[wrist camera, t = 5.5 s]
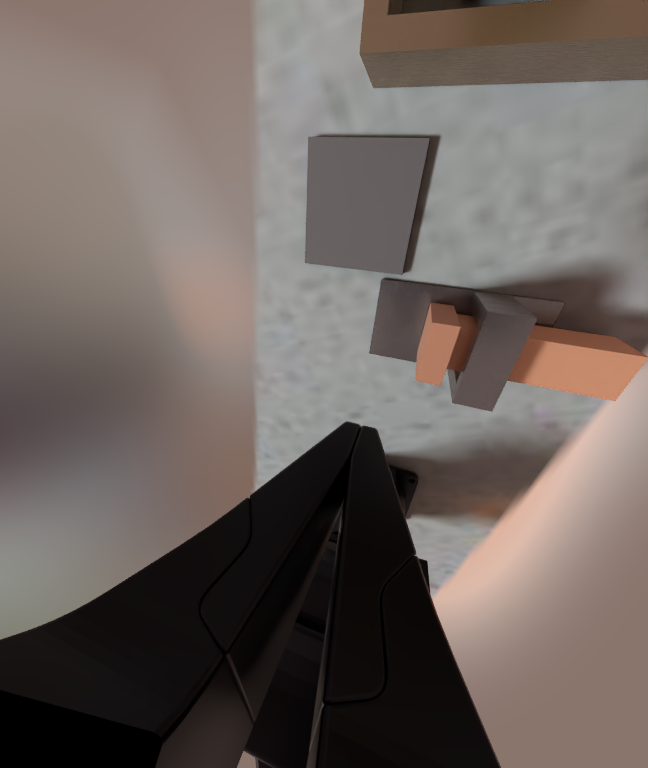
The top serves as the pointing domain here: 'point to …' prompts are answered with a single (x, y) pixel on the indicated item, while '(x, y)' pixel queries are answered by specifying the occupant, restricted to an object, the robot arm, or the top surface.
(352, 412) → the top surface
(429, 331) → the lock bar
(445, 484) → the top surface
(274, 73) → the top surface
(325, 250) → the coaster
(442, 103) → the top surface
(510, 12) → the open wooden box
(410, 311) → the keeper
